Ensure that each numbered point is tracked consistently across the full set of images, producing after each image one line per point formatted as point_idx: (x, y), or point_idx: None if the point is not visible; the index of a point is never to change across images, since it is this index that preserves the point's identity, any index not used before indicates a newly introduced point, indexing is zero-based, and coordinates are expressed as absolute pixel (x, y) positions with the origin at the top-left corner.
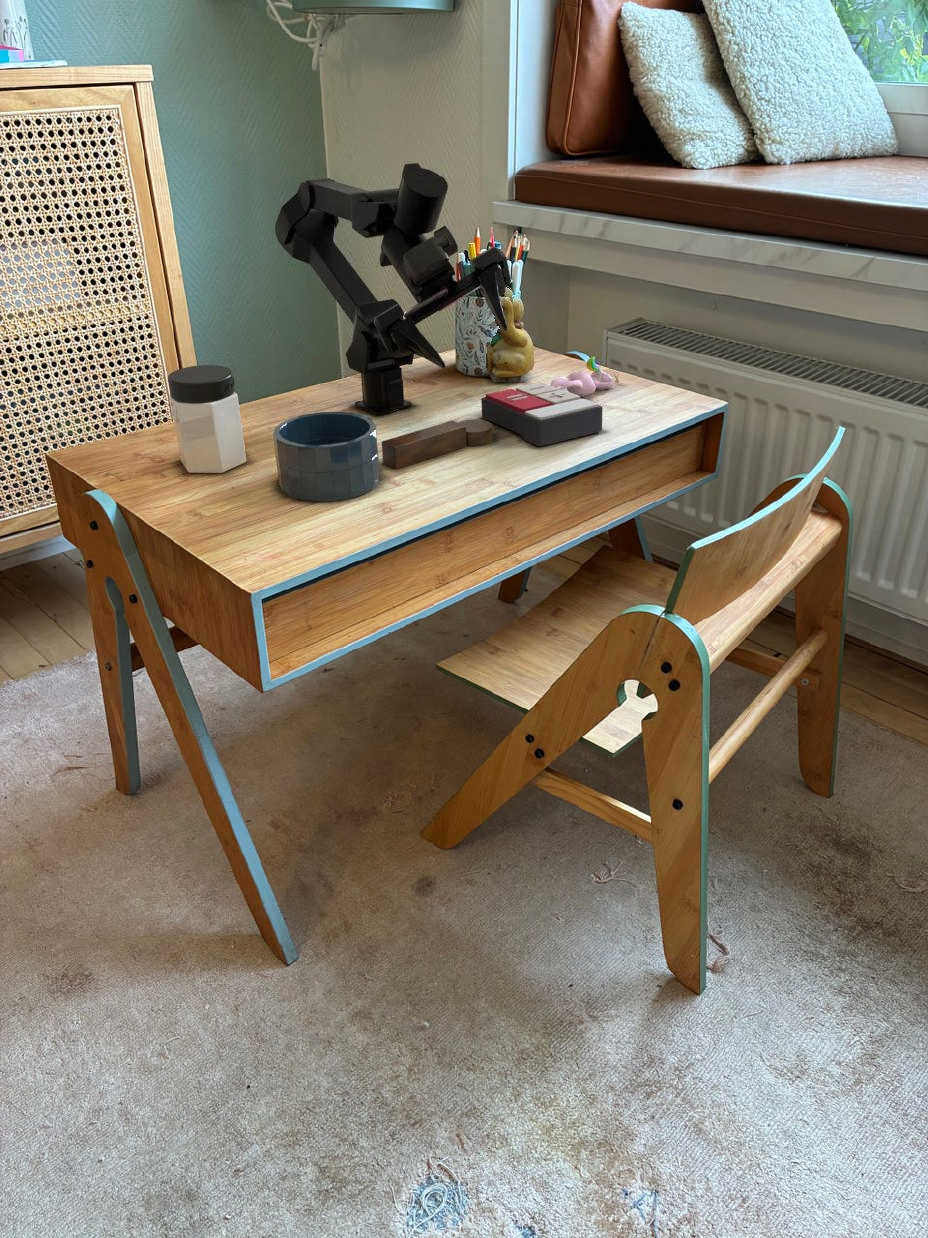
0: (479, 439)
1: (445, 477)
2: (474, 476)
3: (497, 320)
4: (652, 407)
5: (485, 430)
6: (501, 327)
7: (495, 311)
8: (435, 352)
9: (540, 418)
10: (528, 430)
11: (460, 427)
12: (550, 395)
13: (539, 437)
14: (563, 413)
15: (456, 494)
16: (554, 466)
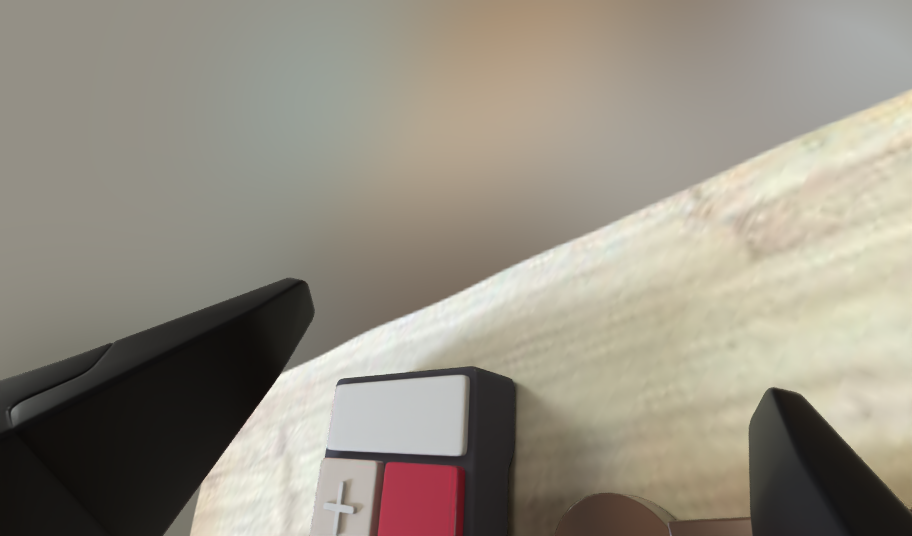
0: (635, 497)
1: (892, 307)
2: (774, 280)
3: (249, 395)
4: (263, 450)
5: (602, 493)
6: (291, 355)
7: (212, 329)
8: (830, 477)
9: (465, 375)
10: (497, 423)
11: (697, 521)
12: (348, 526)
13: (500, 375)
14: (410, 378)
15: (900, 174)
16: (550, 267)
